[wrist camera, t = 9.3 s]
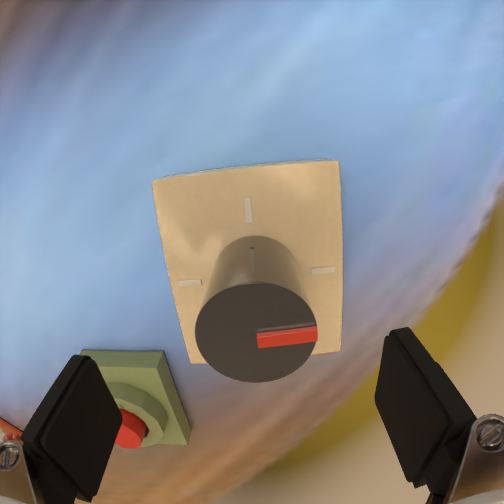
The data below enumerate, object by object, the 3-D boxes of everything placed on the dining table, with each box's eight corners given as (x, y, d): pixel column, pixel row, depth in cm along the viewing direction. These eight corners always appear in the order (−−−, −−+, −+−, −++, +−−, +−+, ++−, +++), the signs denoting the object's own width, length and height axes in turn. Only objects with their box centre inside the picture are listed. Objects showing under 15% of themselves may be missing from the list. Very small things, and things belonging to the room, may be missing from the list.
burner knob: (220, 317, 18) (207, 390, 12) (206, 241, 17) (180, 293, 11) (301, 308, 18) (319, 380, 12) (295, 230, 16) (317, 278, 10)
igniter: (82, 349, 23) (62, 376, 19) (163, 350, 23) (150, 384, 19) (119, 423, 26) (108, 451, 23) (191, 428, 26) (185, 460, 22)
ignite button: (100, 404, 21) (93, 419, 19) (138, 408, 21) (132, 424, 19) (116, 431, 22) (110, 445, 20) (152, 435, 22) (147, 451, 20)
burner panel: (166, 176, 18) (149, 181, 16) (326, 158, 18) (339, 160, 15) (197, 339, 22) (190, 365, 19) (331, 327, 22) (341, 352, 19)
